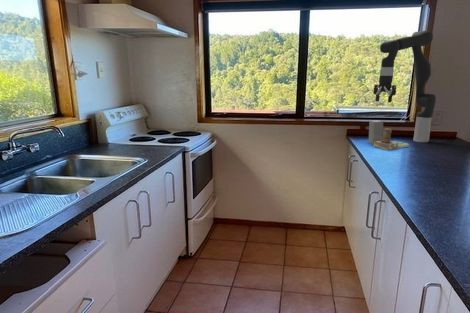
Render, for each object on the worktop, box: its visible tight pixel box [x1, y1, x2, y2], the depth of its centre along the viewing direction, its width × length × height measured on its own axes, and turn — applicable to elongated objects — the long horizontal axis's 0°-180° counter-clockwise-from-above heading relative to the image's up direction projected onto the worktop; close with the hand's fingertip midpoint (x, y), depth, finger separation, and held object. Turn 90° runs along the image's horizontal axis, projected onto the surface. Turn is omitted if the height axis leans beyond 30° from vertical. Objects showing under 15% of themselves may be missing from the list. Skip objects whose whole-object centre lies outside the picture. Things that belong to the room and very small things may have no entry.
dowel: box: [382, 128, 392, 144], centre depth 206 cm, size 4×4×12 cm
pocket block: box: [373, 140, 399, 151], centre depth 207 cm, size 10×10×4 cm
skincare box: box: [368, 119, 384, 145], centre depth 219 cm, size 8×7×16 cm
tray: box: [393, 140, 410, 149], centre depth 212 cm, size 10×10×2 cm
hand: (383, 101), depth 202 cm, fingers open, 8 cm apart
